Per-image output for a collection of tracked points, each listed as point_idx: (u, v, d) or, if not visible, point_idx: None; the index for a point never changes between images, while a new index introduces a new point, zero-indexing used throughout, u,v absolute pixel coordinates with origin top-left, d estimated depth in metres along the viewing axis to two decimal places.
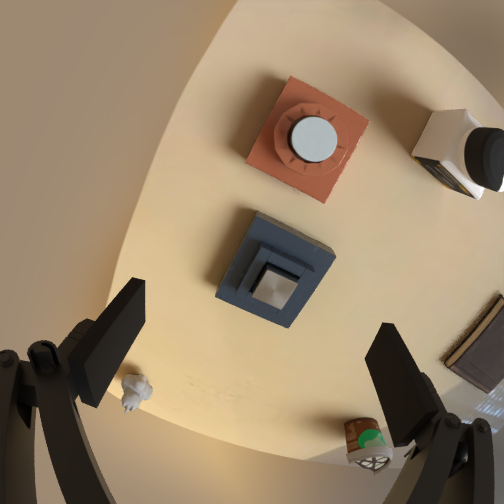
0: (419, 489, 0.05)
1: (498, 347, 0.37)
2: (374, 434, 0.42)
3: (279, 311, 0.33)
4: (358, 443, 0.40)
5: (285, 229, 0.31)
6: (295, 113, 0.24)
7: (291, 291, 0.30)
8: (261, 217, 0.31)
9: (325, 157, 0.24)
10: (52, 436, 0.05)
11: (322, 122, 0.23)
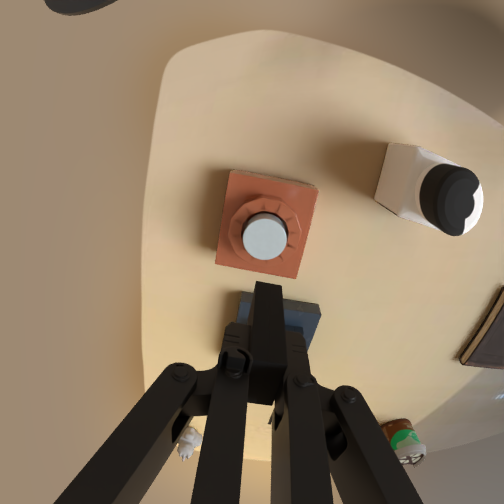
0: (298, 469, 0.06)
1: None
2: (405, 434, 0.43)
3: None
4: None
5: None
6: (242, 215, 0.27)
7: None
8: (245, 301, 0.34)
9: (279, 252, 0.27)
10: (212, 435, 0.07)
11: (267, 222, 0.26)
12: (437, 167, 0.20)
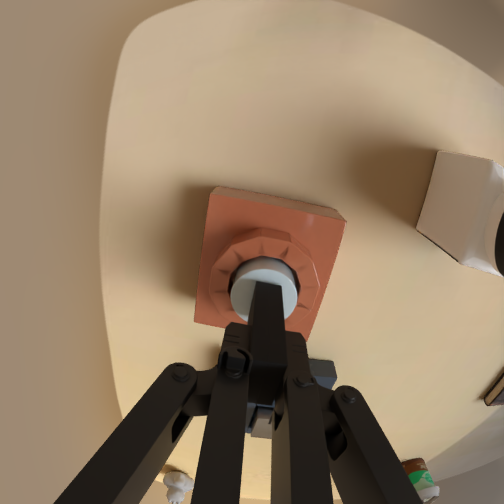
0: (298, 469, 0.06)
1: None
2: (418, 476, 0.33)
3: None
4: None
5: None
6: (229, 262, 0.18)
7: None
8: None
9: (285, 316, 0.18)
10: (212, 435, 0.07)
11: (267, 274, 0.17)
12: None
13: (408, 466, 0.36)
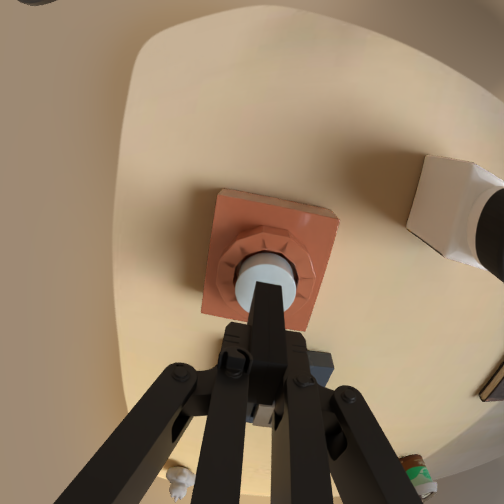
0: (297, 469, 0.06)
1: None
2: (416, 472, 0.34)
3: None
4: None
5: None
6: (234, 256, 0.20)
7: None
8: None
9: (285, 308, 0.19)
10: (212, 434, 0.07)
11: (269, 269, 0.18)
12: (500, 194, 0.13)
13: (406, 462, 0.37)
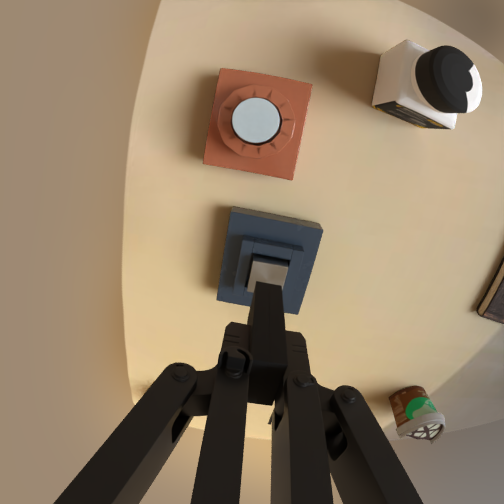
0: (297, 470, 0.06)
1: None
2: (421, 402, 0.39)
3: None
4: (406, 415, 0.38)
5: (263, 216, 0.31)
6: (232, 101, 0.23)
7: (284, 276, 0.29)
8: (236, 212, 0.30)
9: (272, 134, 0.23)
10: (212, 434, 0.07)
11: (258, 101, 0.22)
12: None
13: (409, 392, 0.42)
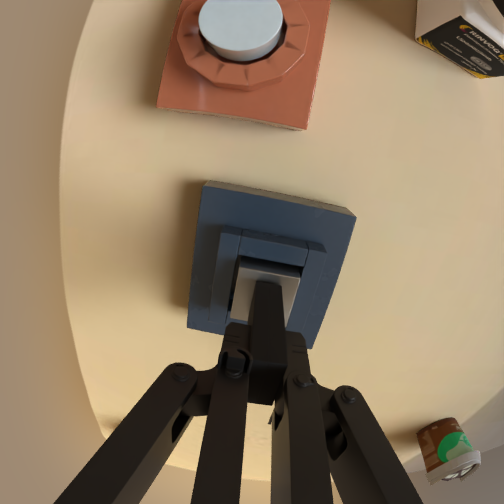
0: (298, 469, 0.06)
1: None
2: (455, 439, 0.26)
3: (286, 330, 0.19)
4: (438, 457, 0.25)
5: (257, 194, 0.18)
6: (203, 3, 0.11)
7: (293, 294, 0.17)
8: (212, 186, 0.18)
9: (269, 36, 0.11)
10: (212, 435, 0.07)
11: None
12: None
13: (441, 427, 0.29)
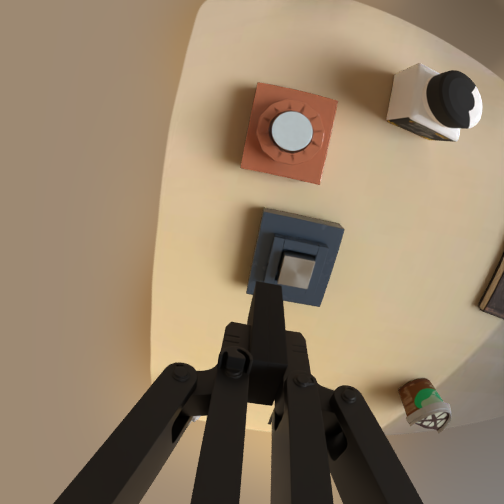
0: (298, 470, 0.06)
1: None
2: (428, 393, 0.41)
3: (306, 291, 0.35)
4: (415, 405, 0.40)
5: (292, 216, 0.34)
6: (270, 113, 0.27)
7: (311, 270, 0.33)
8: (268, 212, 0.34)
9: (306, 144, 0.27)
10: (212, 435, 0.07)
11: (294, 114, 0.26)
12: (438, 74, 0.20)
13: (417, 384, 0.44)
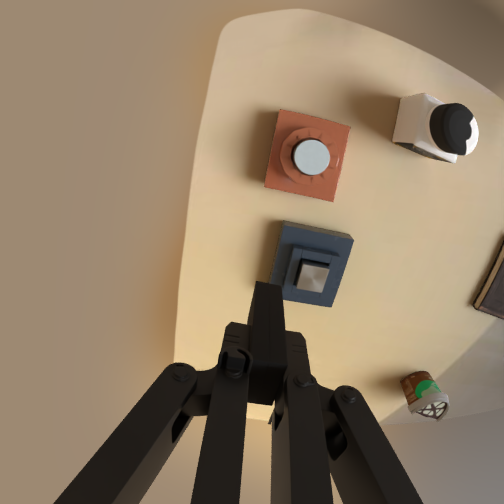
0: (298, 469, 0.06)
1: None
2: (428, 384, 0.46)
3: (320, 294, 0.40)
4: (416, 395, 0.45)
5: (308, 229, 0.38)
6: (292, 140, 0.31)
7: (325, 276, 0.37)
8: (288, 225, 0.38)
9: (323, 168, 0.31)
10: (212, 434, 0.07)
11: (314, 143, 0.30)
12: (440, 105, 0.24)
13: (417, 376, 0.49)
